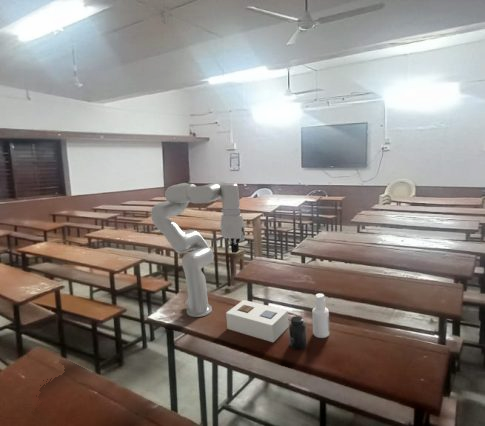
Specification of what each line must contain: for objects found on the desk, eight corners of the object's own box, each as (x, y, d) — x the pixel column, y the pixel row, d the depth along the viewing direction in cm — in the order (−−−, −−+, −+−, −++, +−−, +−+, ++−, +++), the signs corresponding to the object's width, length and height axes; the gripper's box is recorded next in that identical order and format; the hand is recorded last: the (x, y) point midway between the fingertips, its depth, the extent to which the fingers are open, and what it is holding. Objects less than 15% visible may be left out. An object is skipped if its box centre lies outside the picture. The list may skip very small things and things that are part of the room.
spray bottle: (332, 332, 158) (331, 294, 154) (324, 340, 154) (322, 300, 150) (318, 327, 163) (317, 290, 159) (310, 334, 158) (308, 296, 154)
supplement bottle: (287, 348, 150) (285, 321, 148) (293, 339, 156) (291, 313, 153) (303, 351, 147) (302, 324, 144) (308, 342, 153) (307, 316, 150)
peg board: (227, 328, 168) (226, 312, 167) (244, 314, 180) (243, 299, 178) (273, 342, 155) (272, 325, 153) (288, 326, 166) (287, 310, 164)
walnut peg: (239, 322, 170) (238, 309, 168) (245, 317, 174) (244, 304, 172) (248, 324, 167) (247, 311, 165) (254, 319, 171) (253, 306, 169)
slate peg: (261, 328, 163) (260, 315, 161) (267, 323, 167) (266, 310, 165) (271, 331, 160) (270, 317, 159) (276, 325, 164) (276, 312, 163)
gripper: (212, 212, 162) (216, 252, 166) (240, 215, 153) (244, 256, 157) (223, 208, 167) (226, 247, 172) (250, 210, 159) (253, 251, 163)
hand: (235, 251), depth 164 cm, fingers closed
